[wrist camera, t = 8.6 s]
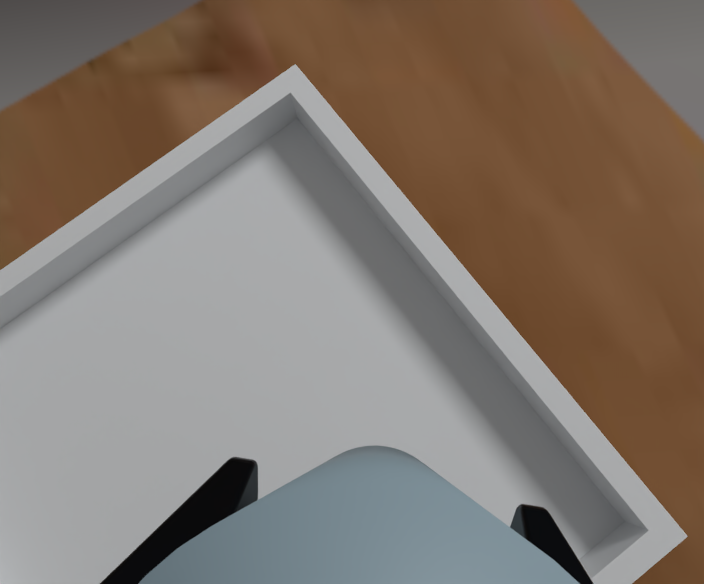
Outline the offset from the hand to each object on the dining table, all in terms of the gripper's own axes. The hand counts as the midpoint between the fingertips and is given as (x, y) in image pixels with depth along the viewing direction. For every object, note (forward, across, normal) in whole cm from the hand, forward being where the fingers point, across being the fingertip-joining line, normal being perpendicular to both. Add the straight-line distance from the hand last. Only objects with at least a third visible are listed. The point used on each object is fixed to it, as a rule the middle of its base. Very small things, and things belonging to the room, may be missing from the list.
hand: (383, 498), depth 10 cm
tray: (+8, +5, +9) cm, 13 cm away
